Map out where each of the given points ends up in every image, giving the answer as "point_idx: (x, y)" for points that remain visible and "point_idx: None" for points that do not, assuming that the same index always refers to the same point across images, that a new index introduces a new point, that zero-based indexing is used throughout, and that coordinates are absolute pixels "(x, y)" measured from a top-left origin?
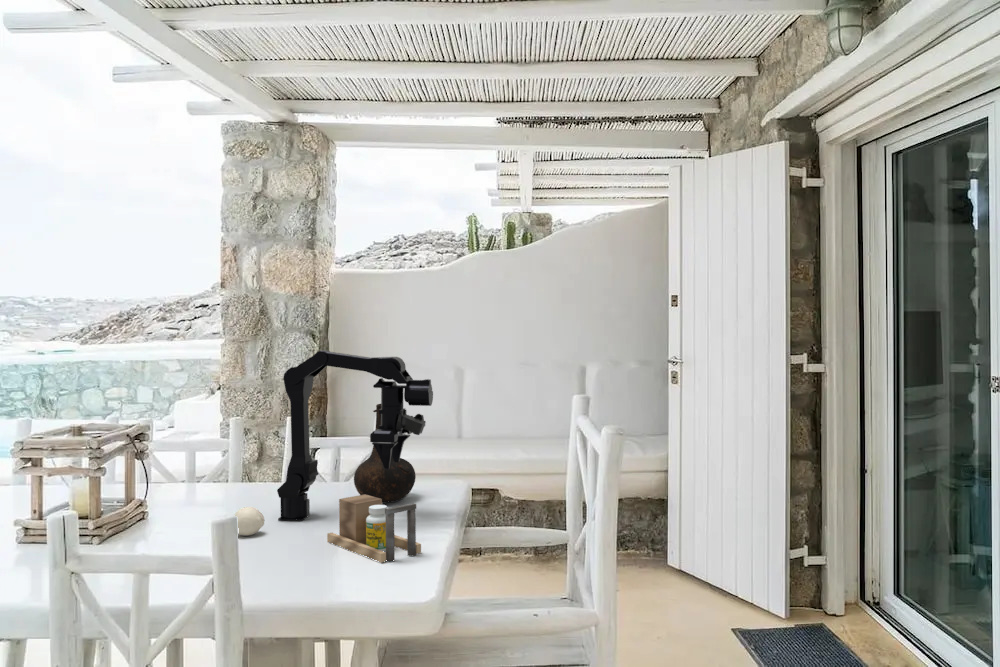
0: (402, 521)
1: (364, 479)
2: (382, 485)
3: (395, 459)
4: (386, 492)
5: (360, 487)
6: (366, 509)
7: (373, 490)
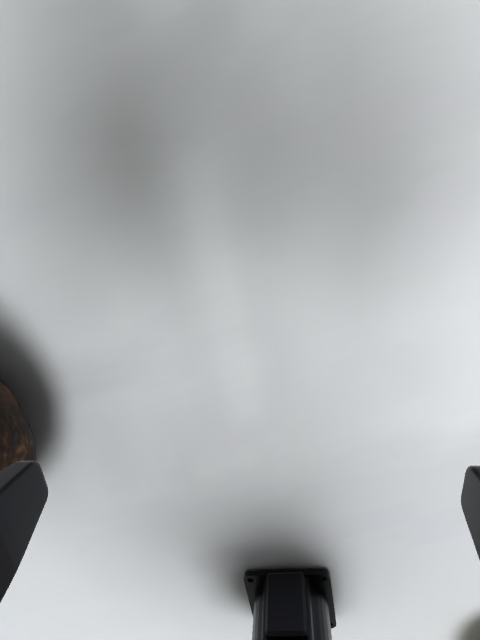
0: (283, 219)
1: None
2: (1, 450)
3: (27, 514)
4: (8, 410)
5: None
6: None
7: None
